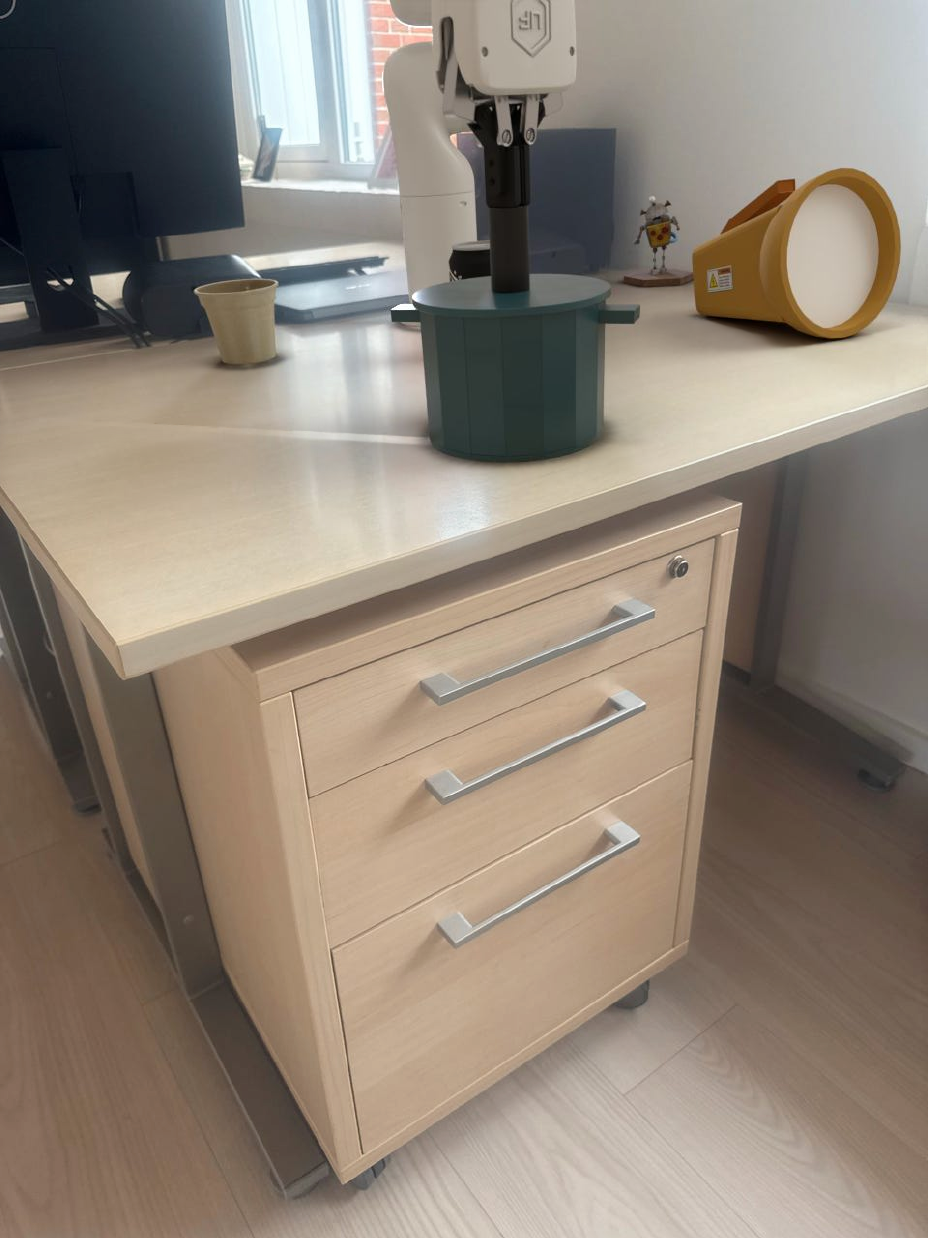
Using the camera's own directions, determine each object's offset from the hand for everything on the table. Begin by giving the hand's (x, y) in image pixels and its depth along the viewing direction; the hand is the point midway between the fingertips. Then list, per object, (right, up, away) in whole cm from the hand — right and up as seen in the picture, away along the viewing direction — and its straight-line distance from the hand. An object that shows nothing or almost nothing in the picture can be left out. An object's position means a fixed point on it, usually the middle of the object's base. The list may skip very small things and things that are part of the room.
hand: (508, 205), depth 66 cm
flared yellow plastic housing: (+34, +4, +39) cm, 52 cm away
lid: (0, -6, +3) cm, 7 cm away
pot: (+1, -15, +9) cm, 18 cm away
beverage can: (-1, -2, +33) cm, 33 cm away
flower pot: (-29, -1, +38) cm, 48 cm away
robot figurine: (+27, +21, +70) cm, 78 cm away
